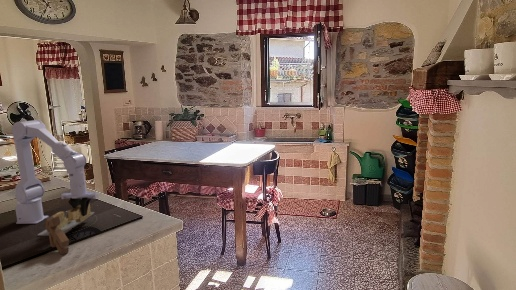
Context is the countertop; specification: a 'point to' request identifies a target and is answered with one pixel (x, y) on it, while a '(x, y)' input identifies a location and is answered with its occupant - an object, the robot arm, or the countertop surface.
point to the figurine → (57, 235)
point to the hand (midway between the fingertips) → (81, 215)
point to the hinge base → (62, 219)
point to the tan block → (78, 214)
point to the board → (65, 228)
